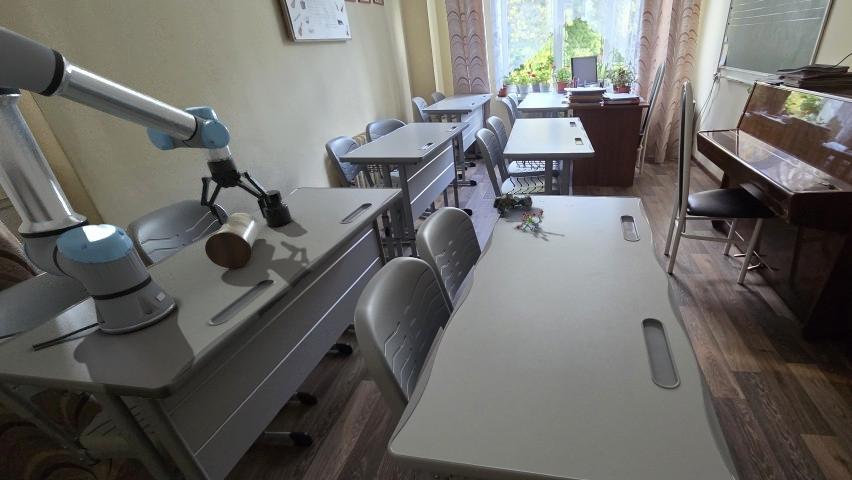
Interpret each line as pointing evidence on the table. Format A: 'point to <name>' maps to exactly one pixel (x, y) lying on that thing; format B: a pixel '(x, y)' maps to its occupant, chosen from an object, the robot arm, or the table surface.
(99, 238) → the robot arm
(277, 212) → the ink bottle
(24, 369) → the table surface
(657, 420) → the table surface
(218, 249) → the towel holder
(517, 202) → the dark grey lumpy piece
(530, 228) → the molecular model
